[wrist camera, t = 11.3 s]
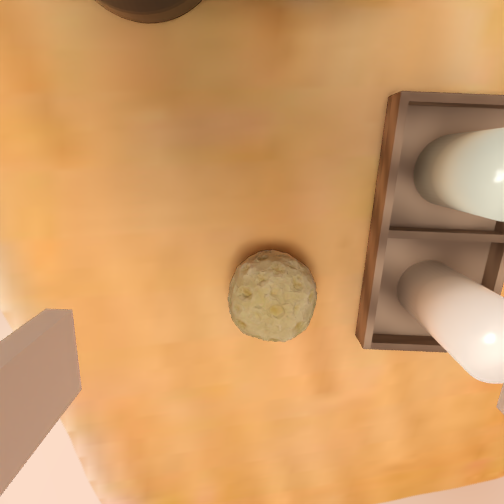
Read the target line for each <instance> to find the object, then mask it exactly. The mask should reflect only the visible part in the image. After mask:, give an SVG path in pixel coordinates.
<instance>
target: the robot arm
mask: <svg viewBox="0 0 504 504" xmlns="http://www.w3.org/2000/svg"><path fill="white" fill-rule="evenodd" d="M95 1H97V2H98V3H99V4H100V5H101V6H103V7H104V8H106V9H107V10H109V11H110V12H112V13H114V14H116V15H118V16H120V17H122V18H125V19H128V20H132V21H136V22H143V23H156V22H163V21H168V20H171V19H174V18H177V17H179V16H181V15H183V14H185V13H186V12H188V11H189V10H191V9H192V8H194V7H195V6H196V5H197V4H198V3H199V2H200V1H201V0H95ZM81 389H82V388H81V379H80V371H79V363H78V355H77V346H76V338H75V330H74V321H73V313H72V310H66V309H45V310H44V311H42V312H41V313H39V314H38V315H37V316H35V317H34V318H32V319H31V320H30V321H28V322H27V323H25V324H24V325H23V326H21V327H20V328H18V329H17V330H16V331H14V332H13V333H11V334H10V335H9V336H7V337H6V338H4V339H3V340H1V341H0V496H1V495H2V493H3V492H4V491H5V489H6V488H7V487H8V485H9V484H10V483H11V482H12V480H13V479H14V478H15V476H16V475H17V474H18V472H19V471H20V470H21V468H22V467H23V466H24V464H25V463H26V462H27V460H28V459H29V458H30V457H31V455H32V454H33V452H34V451H35V450H36V449H37V447H38V446H39V445H40V443H41V442H42V441H43V439H44V438H45V437H46V435H47V434H48V433H49V432H50V430H51V429H52V427H53V426H54V425H55V423H56V422H57V421H58V420H59V418H60V417H61V416H62V414H63V413H64V412H65V410H66V409H67V408H68V407H69V405H70V404H71V403H72V401H73V400H74V399H75V397H76V396H77V395H78V393H79V392H80V391H81ZM497 408H498V409H499V410H500V411H501V412H502V413H503V414H504V383H503V386H502V390H501V393H500V397H499V400H498V404H497Z"/></svg>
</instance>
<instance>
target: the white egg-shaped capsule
mask: <svg viewBox="0 0 504 504" xmlns="http://www.w3.org/2000/svg"><path fill="white" fill-rule="evenodd" d="M414 183H415V186H416V189H417V191H418V192H419V194H420V195H421V196H422V197H423V198H424V199H425V200H426V201H428V202H430V203H432V204H435V205H439V206H442V207H446V208H450V209H454V210H458V211H462V212H465V213H469V214H473V215H477V216H481V217H485V218H489V219H492V220H496V221H502V222H504V128H496V129H487V130H479V131H471V132H463V133H455V134H448V135H444V136H441V137H439V138H437V139H435V140H434V141H432V142H431V143H429V144H428V145H427V146H426V147H425V148H424V150H423V151H422V152H421V154H420V155H419V157H418V159H417V161H416V164H415V168H414Z"/></svg>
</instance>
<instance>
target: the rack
mask: <svg viewBox="0 0 504 504" xmlns="http://www.w3.org/2000/svg"><path fill="white" fill-rule="evenodd" d="M496 128H504V95H487V94H462V93H436V92H411V91H401V92H398V93H396V94H394V95H392V96H390V97H388V104H387V112H386V119H385V126H384V133H383V140H382V147H381V155H380V162H379V169H378V176H377V183H376V191H375V198H374V205H373V212H372V219H371V227H370V234H369V241H368V248H367V255H366V262H365V270H364V277H363V284H362V291H361V298H360V306H359V313H358V320H357V327H356V334H355V335H356V337H357V339H358V340H359V342H360V344H361V346H362V348H363V349H379V350H403V351H426V352H447V351H446V350H445V349H444V348H443V347H442V346H441V345H440V344H439V343H438V342H437V341H436V340H435V339H434V338H433V337H432V336H431V335H430V334H429V333H428V332H427V331H426V330H425V329H424V328H423V327H422V326H421V325H420V323H419V322H418V321H417V320H416V319H415V318H414V317H413V316H412V315H411V314H410V313H409V312H408V311H407V310H406V309H405V308H404V307H403V306H402V305H401V304H400V302H399V300H398V297H397V285H398V282H399V279H400V278H401V276H402V275H403V273H404V272H405V271H406V270H407V269H408V268H409V267H411V266H412V265H414V264H416V263H419V262H422V261H428V260H432V261H438V262H441V263H443V264H445V265H447V266H449V267H450V268H452V269H454V270H456V271H457V272H459V273H461V274H463V275H465V276H466V277H468V278H470V279H472V280H474V281H475V282H477V283H479V284H481V285H482V286H484V287H486V288H488V289H490V290H491V291H493V292H495V293H497V294H499V295H500V294H501V291H502V287H503V283H504V222H502V221H496V220H492V219H489V218H485V217H481V216H477V215H473V214H469V213H465V212H462V211H458V210H454V209H450V208H446V207H442V206H439V205H435V204H432V203H430V202H428V201H426V200H425V199H424V198H423V197H422V196H421V195H420V194H419V192H418V191H417V189H416V186H415V183H414V168H415V164H416V161H417V159H418V157H419V155H420V154H421V152H422V151H423V150H424V148H425V147H426V146H427V145H428V144H429V143H431V142H432V141H434V140H435V139H437V138H439V137H441V136H444V135H448V134H455V133H463V132H471V131H479V130H487V129H496Z"/></svg>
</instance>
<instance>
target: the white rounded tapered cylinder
mask: <svg viewBox="0 0 504 504" xmlns="http://www.w3.org/2000/svg"><path fill="white" fill-rule="evenodd" d="M397 297H398V300H399V302H400V304H401V305H402V306H403V307H404V308H405V309H406V310H407V311H408V312H409V313H410V314H411V315H412V316H413V317H414V318H415V319H416V320H417V321H418V322H419V323H420V325H421V326H422V327H423V328H424V329H425V330H426V331H427V332H428V333H429V334H430V335H431V336H432V337H433V338H434V339H435V340H436V341H437V342H438V343H439V344H440V345H441V346H442V347H443V348H444V349H445V350H446V351H447V352H448V353H449V354H450V355H451V356H452V357H453V358H454V359H455V360H456V361H457V362H458V363H459V364H460V365H461V366H462V367H463V368H464V369H465V370H466V371H467V372H468V373H469V374H470V375H471V376H472V377H474V378H475V379H477V380H480V381H482V382H486V383H504V297H502V296H500V295H499V294H497V293H495V292H493V291H491V290H490V289H488V288H486V287H484V286H482V285H481V284H479V283H477V282H475V281H474V280H472V279H470V278H468V277H466V276H465V275H463V274H461V273H459V272H457V271H456V270H454V269H452V268H450V267H449V266H447V265H445V264H443V263H441V262H438V261H432V260H428V261H422V262H419V263H416V264H414V265H412V266H411V267H409V268H408V269H407V270H406V271H405V272H404V273H403V275H402V276H401V278H400V279H399V282H398V285H397Z"/></svg>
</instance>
